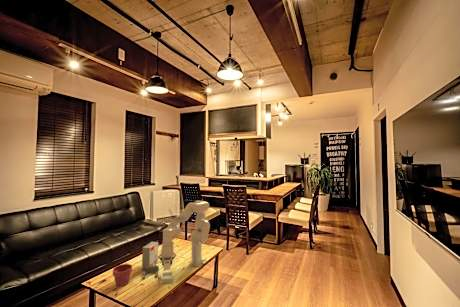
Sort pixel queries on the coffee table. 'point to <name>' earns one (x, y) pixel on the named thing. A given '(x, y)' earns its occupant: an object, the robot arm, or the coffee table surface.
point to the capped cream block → (167, 264)
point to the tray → (167, 277)
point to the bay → (151, 270)
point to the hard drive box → (150, 255)
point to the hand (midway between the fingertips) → (167, 265)
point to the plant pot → (122, 274)
